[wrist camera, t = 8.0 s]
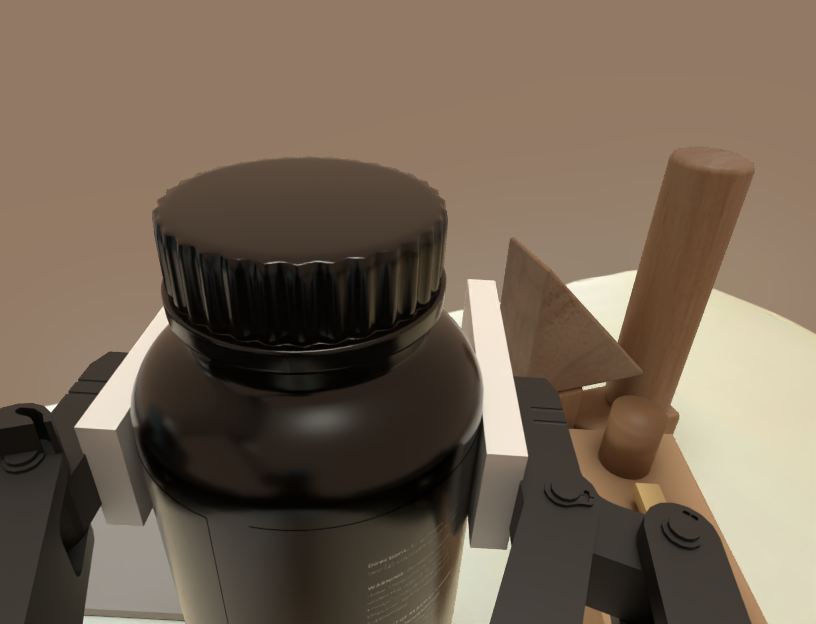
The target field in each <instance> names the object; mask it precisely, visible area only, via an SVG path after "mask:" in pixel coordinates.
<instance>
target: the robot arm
mask: <svg viewBox="0 0 816 624" xmlns="http://www.w3.org/2000/svg"><path fill="white" fill-rule="evenodd" d="M168 324H169V323H168V320H167V317H166V314H165V310H164V306H163V307H162V309H161V310H160V312H159V313H158V314H157V316H156V317H155V318H154V320H153V321H152V322H151V324H150V325H149V326H148V328H147V329H146V331H145V332H144V333H143V334H142V336H141V337H140V339H139V340H138V341H137V343H136V344H135V345H134V347H133V348H132V349H131V351H130V352H129V353H124V352H123V353H122V352H108V353H107V354H105V355H104V356H102V357H101V358H99V359H98V360H96V361H94V362H93V363H91V364H90V365H89V367H88V368H87V369H86V371H84V373H83V374H82V375H81V377H80V378H79V379H78V382H76V383H75V384H74V385H73V386H72V388H71V389H70V390H69V394H66V395H65V396H64V397H63V399H62V400H61V401H60V402H59V404H58V405H57V406H56V407H55V409H54V410H53V411H52V412H50V411H49V410H48V409H47V408H45V407H44V406H42V405H38V404H34V403H25V404H15V405H12V406H7V407H3V408H1V409H0V624H83V617H84V610H85V603H86V596H87V589H88V582H89V575H90V568H91V561H92V554H93V547H94V540H95V539H94V531H93V528H92V525H91V522H92V520H93V519H94V517H95V515H96V514H97V512H98V510H99V509H100V507H101V508H102V511H103V514H104V517H105V520H106V523H107V524H111V525H127V526H143V527H144V525H145V522H146V520H147V518H148V516H149V514H150V512H151V510H152V508H153V506H152V503H151V499H150V496H149V492H148V488H147V485H146V481H145V478H144V474H143V471H142V467H141V463H140V460H139V456H138V453H137V449H136V445H135V439H134V435H133V430H132V423H131V415H130V409H131V395H132V391H133V386H134V382H135V379H136V376H137V373H138V371H139V368H140V365H141V363H142V361H143V359H144V357H145V355H146V353H147V351H148V350H149V348H150V346H151V345H152V343H153V342H154V341H155V339H156V338H157V336H158V335H159V334H160V333H161V332H162V331H163V329H164V328H165V327H166V326H167V325H168ZM461 329H462V331H463V332H464V334H465V335H466V337H467V339H468V340H469V342H470V344H471V346H472V348H473V350H474V352H475V355H476V357H477V359H478V362H479V365H480V369H481V373H482V379H483V387H484V392H483V410H482V418H481V419H482V422H481V429H480V436H479V442H478V449H477V456H476V463H475V469H474V476H473V483H472V490H471V496H470V503H469V510H468V524H469V539H470V547H471V548H487V549H503V550H506V549H507V545H508V541H509V537H510V539H511V546H512V547H511V550H510V554H509V557H508V561H507V564H506V568H505V571H504V575H503V578H502V582H501V586H500V589H499V593H498V596H497V600H496V603H495V607H494V610H493V614H492V617H491V621H490V624H583V618H584V611H585V606H587V607H590V608H593V609H595V610H598V611H600V612H603V613H606V614H608V615H610V618H611V624H752V623H751V620H750V618H749V615H748V612H747V609H746V607H745V604H744V601H743V599H742V596H741V593H740V590H739V588H738V585H737V582H736V579H735V577H734V574H733V571H732V569H731V566H730V563H729V560H728V558H727V555H726V552H725V549H724V547H723V544H722V541H721V538H720V536H719V535H718V533H717V531H716V530H715V528H714V526H713V525H712V524H711V523H710V522H709V521H708V520H707V519H706V518H705V517H704V516H702V515H701V514H700V513H698V512H696V511H694V510H693V509H691V508H689V507H687V506H683V505H680V504H677V503H658V504H656V505H653V506H651V507H650V508H649V509H648V511H647V512H646V514H643V513H640V512H637V511H634V510H631V509H628V508H624V507H621V506H619V505H616V504H614V503H611V502H609V501H607V500H606V499H604V498H602V497H601V496H599V494H598V493H597V491H596V490H595V488H594V486H593V485H592V483H590V482H589V481H588V480H587V479H586V478H585V477H583V476H582V473H581V471H580V467H579V464H578V460H577V457H576V453H575V450H574V446H573V442H572V439H571V435H570V432H569V428H568V425H567V424H566V423H567V421H566V418H565V414H564V412H563V407H562V404H561V400H560V397H559V393H558V392H557V391H556V390H555V388H554V387H553V386H552V385H551V384H550V383H549V381H548V380H547V379H546V378H533V377H518V376H513V374H512V368H511V363H510V358H509V353H508V347H507V342H506V337H505V332H504V326H503V321H502V316H501V310H500V305H499V300H498V295H497V289H496V284H495V281H488V280H473V279H468V281H467V289H466V297H465V304H464V312H463V320H462V328H461Z"/></svg>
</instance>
